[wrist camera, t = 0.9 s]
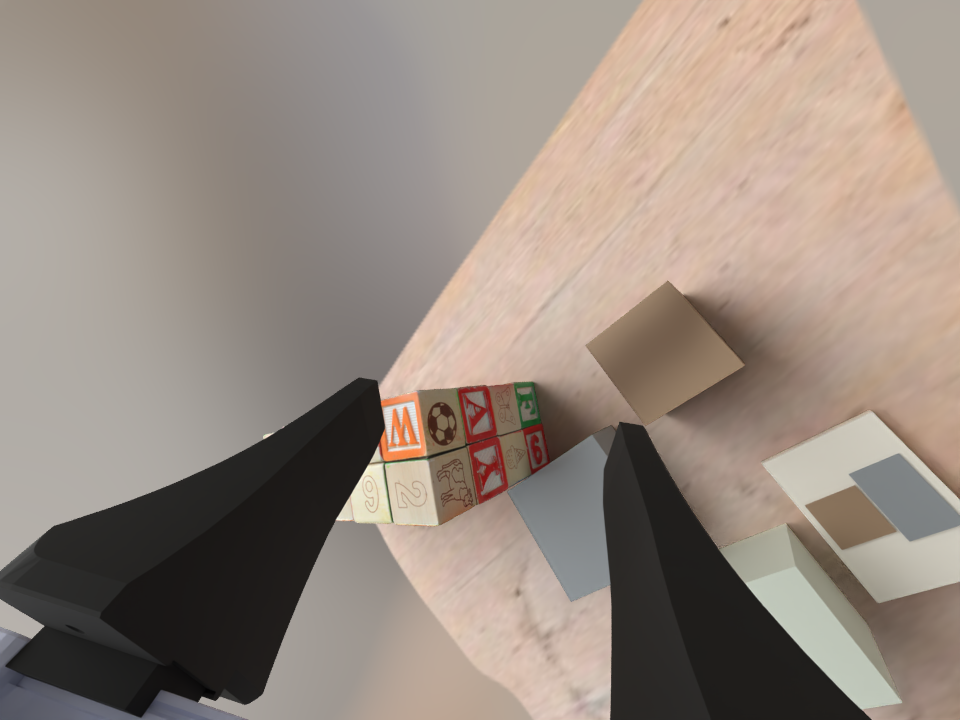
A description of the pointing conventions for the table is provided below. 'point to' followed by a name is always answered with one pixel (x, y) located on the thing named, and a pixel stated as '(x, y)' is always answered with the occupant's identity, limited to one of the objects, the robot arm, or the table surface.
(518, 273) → the table surface
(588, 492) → the slate block
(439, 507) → the stack of blocks
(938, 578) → the card
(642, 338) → the walnut block
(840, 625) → the sage block
